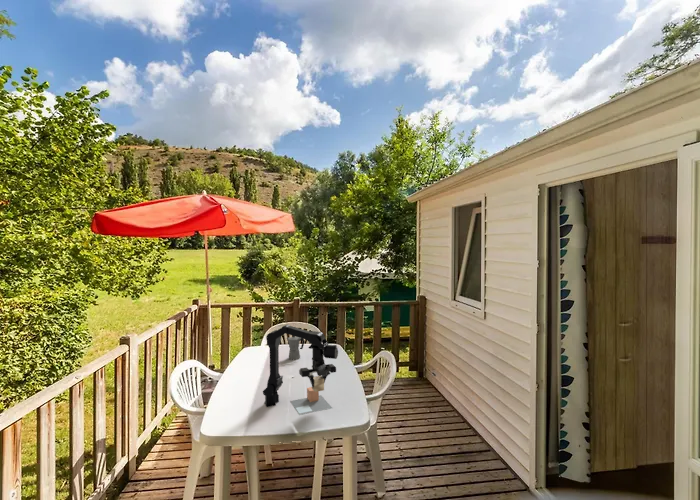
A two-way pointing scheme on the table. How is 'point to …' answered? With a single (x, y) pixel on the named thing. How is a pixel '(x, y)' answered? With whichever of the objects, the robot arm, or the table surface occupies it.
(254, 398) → the table surface
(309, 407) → the board
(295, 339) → the coffeepot
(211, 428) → the table surface
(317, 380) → the maple block
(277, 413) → the table surface
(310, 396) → the terracotta block
